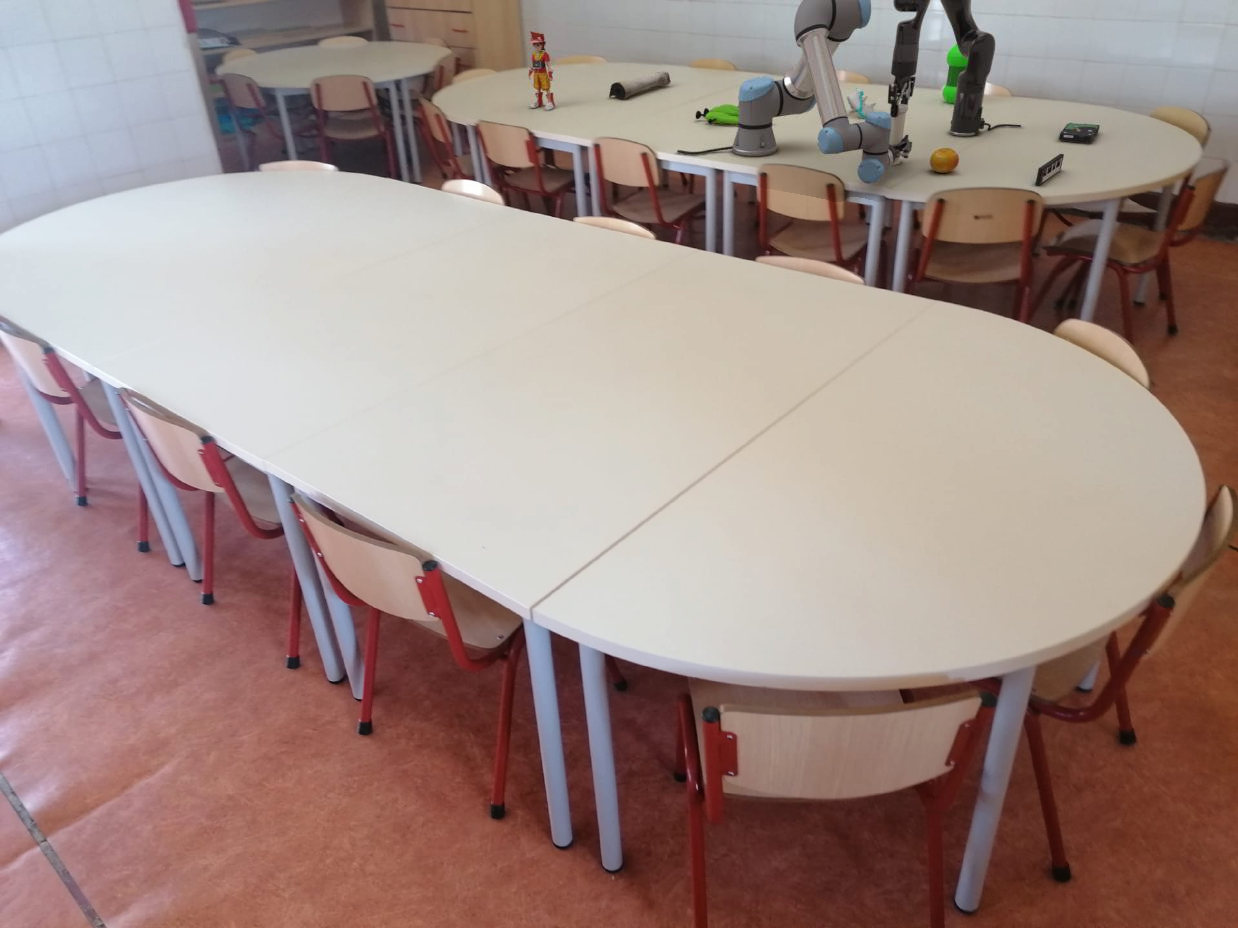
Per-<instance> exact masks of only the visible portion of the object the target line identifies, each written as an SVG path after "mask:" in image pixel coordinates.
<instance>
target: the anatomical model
mask: <svg viewBox="0 0 1238 928" xmlns="http://www.w3.org/2000/svg"><path fill="white" fill-rule="evenodd" d="M864 95H865V93H864V91H863V90H861V89H860V88H859V87H857V88H855V90H854V92H853V93H848V94H847V95H846V99H847V102H848V104H849V106H850V109H852V110H854V111H856V112H857V113H858V116H859V117H860V118H862V119H866V115H867V114H868V113H871V112H875V111H874V107H875V106H877V102H876V101H875V102H872V103H870V104H866V103H865V102H866V100H867V99H868V95H866V96H864ZM863 96H864V97H863Z"/></svg>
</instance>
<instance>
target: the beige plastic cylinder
mask: <svg viewBox="0 0 1238 928" xmlns="http://www.w3.org/2000/svg"><path fill="white" fill-rule="evenodd" d="M906 114H907V112H903V113H898V116H897V117H892V124H891V133H890V139H889V144H890V145H892V146H893V145H897V144H899V143H901V141H902V139H903V138H904V131H905V124H906V116H907V115H906ZM900 162H901V156H899V157H898V158H896V159H895V161H894V163H893V164H892V165H893V166H895V165H896V166H897V165H899V164H900ZM892 165H891V166H892Z"/></svg>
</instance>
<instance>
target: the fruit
mask: <svg viewBox="0 0 1238 928" xmlns="http://www.w3.org/2000/svg"><path fill="white" fill-rule="evenodd" d="M959 163H960V156H959V154H958V152H957V151H956V150H955V149H953V148H951V147H942V148H938V149H936V150H934V151H933V153H932V154H931V155H930V159H929V166H930V168H931V169H932V170H933V171H934V172H936V173H939V174H940V173H943V174H944V173H945V174H946V173H951V172H953V171H954V170H956V168H957V167H958V165H959Z"/></svg>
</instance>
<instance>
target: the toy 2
mask: <svg viewBox="0 0 1238 928" xmlns="http://www.w3.org/2000/svg"><path fill="white" fill-rule="evenodd" d="M701 117H704V118H705V120H706V121H707V123H708V124H709V125H712V124H729V125H730V124H731V125H733V124H734V125H738V118H739V104H738V105H737V106H736V105H733V104H729V103H727V104H721V105H719V106H715V107H712V108H711V109H709V108H707V107H705V108H704V109H703V113H702V112H701V111H700V110H696V112H695V119H696V120H700V119H701Z"/></svg>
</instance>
